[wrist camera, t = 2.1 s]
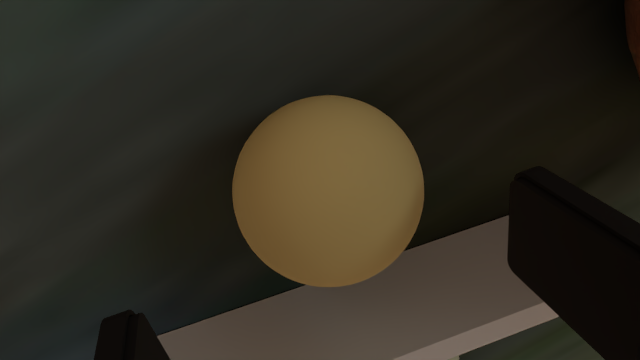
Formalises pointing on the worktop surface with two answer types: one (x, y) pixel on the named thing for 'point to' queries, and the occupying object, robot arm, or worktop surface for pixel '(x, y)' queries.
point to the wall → (382, 310)
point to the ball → (328, 191)
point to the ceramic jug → (633, 30)
